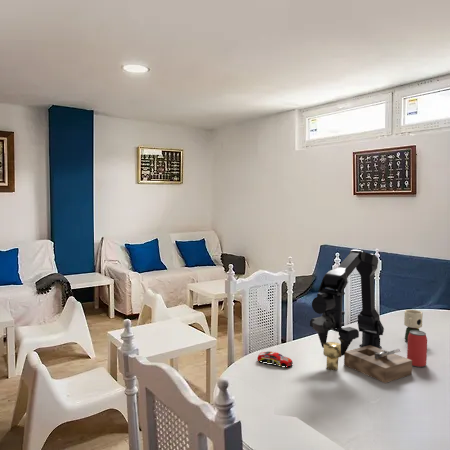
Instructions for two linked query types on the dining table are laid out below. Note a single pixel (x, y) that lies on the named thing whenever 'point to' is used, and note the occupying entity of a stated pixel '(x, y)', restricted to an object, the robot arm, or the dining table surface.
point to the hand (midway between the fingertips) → (332, 351)
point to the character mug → (412, 321)
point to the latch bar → (388, 353)
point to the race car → (274, 358)
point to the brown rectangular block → (378, 363)
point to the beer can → (417, 348)
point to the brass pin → (332, 354)
